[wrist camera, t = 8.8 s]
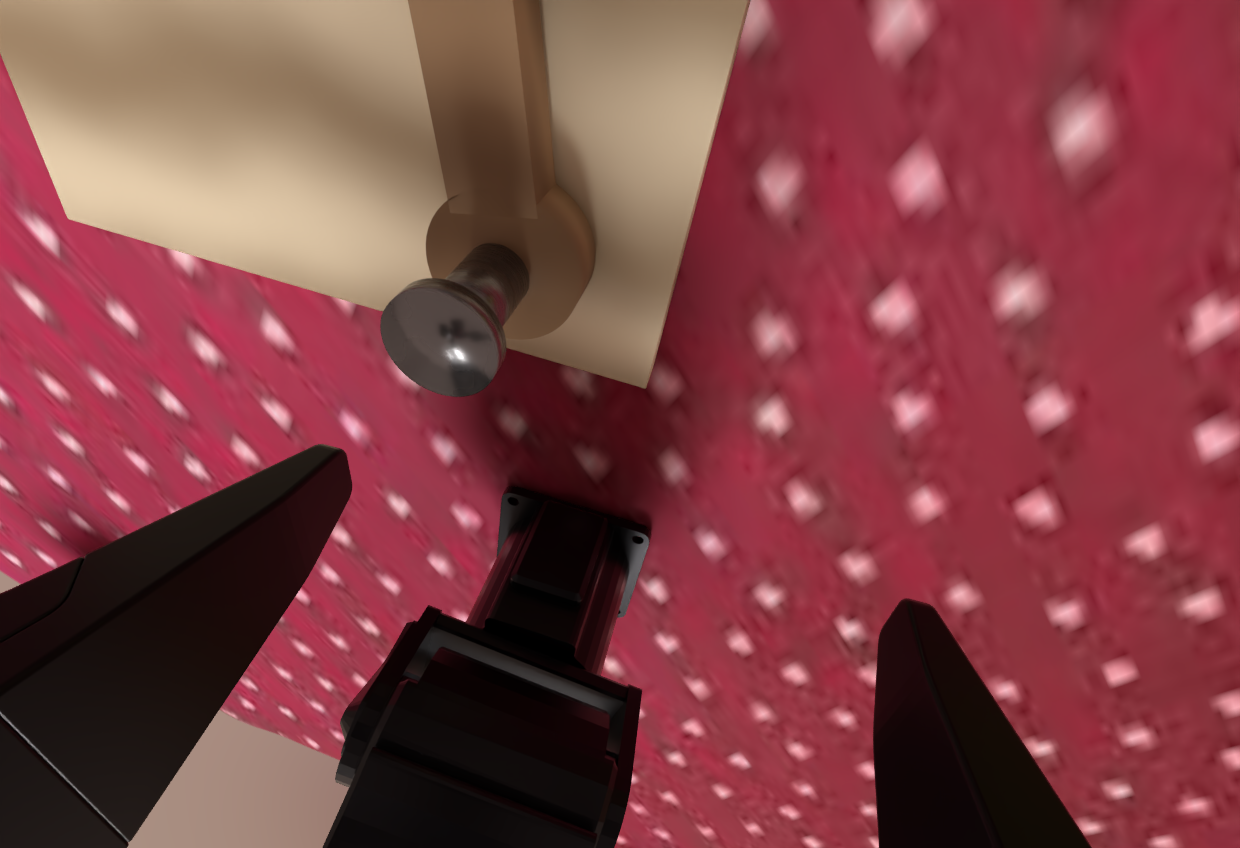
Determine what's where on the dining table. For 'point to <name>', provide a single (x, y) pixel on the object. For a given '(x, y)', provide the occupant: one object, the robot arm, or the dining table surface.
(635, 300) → the base plate
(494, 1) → the link
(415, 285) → the knob
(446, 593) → the dining table surface
